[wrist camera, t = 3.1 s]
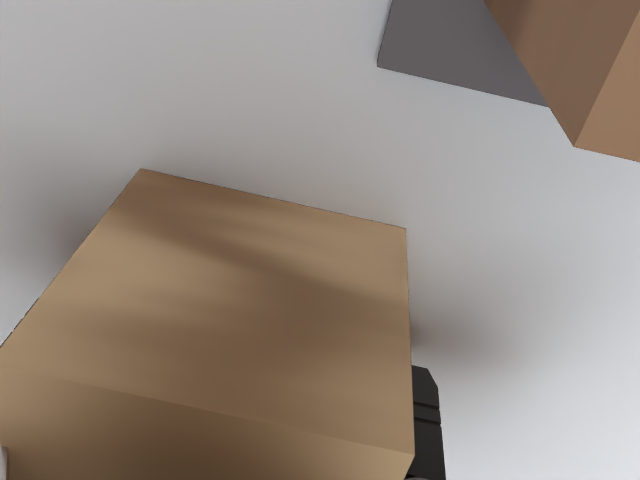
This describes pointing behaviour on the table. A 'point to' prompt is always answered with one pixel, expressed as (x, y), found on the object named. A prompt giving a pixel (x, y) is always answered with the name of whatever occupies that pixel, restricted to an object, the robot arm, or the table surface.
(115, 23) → the table surface
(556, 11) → the walnut base block
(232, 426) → the oak block
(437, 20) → the felt pad
